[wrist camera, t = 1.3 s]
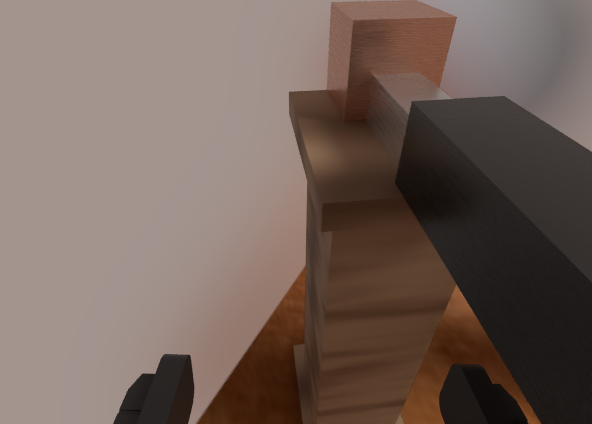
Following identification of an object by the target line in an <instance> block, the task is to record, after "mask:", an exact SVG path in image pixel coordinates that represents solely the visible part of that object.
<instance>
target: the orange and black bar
mask: <svg viewBox="0 0 592 424" xmlns="http://www.w3.org/2000/svg"><path fill="white" fill-rule="evenodd" d="M456 18H457V17H455V16H453V15H451V14H448V13H446V12H443V11H441V10H439V9H436V8H434V7H431V6H429V5H426V4H424V3H421V2H419V1H417V0H404V1H403V0H402V1H368V2H367V1H365V2H331V18H330V38H329V56H328V57H329V58H328V77H327V91H328V93H329V95H330V97H331V99H332V101H333V103H334V104H335V106H336V108H337V110H338V112H339V114H340V116H341V117H342V119H343V121H344V123H345V122H362V121H367V123H368V124H369V126H370V127H371V129H372V130H373V132H374V133H375V135H376V136H377V138H378V140H379V141H380V143H381V144H382V146H383V147H384V149H385V150H386V152H387V153H388V155H389V156H390V158H391V159H392V161H393V162H394V164H395V165H396V167H397V168H398V170H397V175H396V180H395V184H396V186H397V187H398V189H399V190H400V192H401V194H402V195H403V197H404V199H405V200H406V202H407V204H408V205H409V207H410V209H411V210H412V212H413V213H414V215H415V217H416V218H417V220H418V222H419V223H420V225H421V227H422V228H423V230H424V232H425V233H426V235H427V236H428V238H429V240H430V241H431V243H432V245H433V246H434V248H435V250H436V251H437V253H438V255H439V256H440V258H441V259H442V261H443V263H444V264H445V266H446V268H447V269H448V271H449V273H450V274H451V276H452V278H453V279H454V281H455V282H456V284H457V286H458V287H459V289H460V291H461V292H462V294H463V296H464V297H465V299H466V301H467V302H468V304H469V305H470V307H471V309H472V310H473V312H474V314H475V315H476V317H477V319H478V320H479V322H480V324H481V325H482V327H483V328H484V330H485V332H486V333H487V335H488V337H489V338H490V340H491V342H492V343H493V345H494V347H495V348H496V350H497V351H498V353H499V355H500V356H501V358H502V360H503V361H504V363H505V365H506V366H507V368H508V370H509V371H510V373H511V374H512V376H513V378H514V379H515V381H516V383H517V384H518V386H519V388H520V389H521V391H522V393H523V394H524V396H525V397H526V399H527V401H528V402H529V404H530V406H531V407H532V409H533V411H534V412H535V414H536V416H537V417H538V419H539V420H540V422H541V424H592V152H591V151H589V150H588V149H586V148H585V147H583V146H582V145H580V144H579V143H577V142H575V141H574V140H572V139H571V138H569V137H568V136H566V135H564V134H563V133H561V132H560V131H558V130H557V129H555V128H553V127H552V126H550V125H549V124H547V123H545V122H544V121H542V120H540V119H539V118H538V117H536V116H535V115H533V114H531V113H530V112H528V111H527V110H525V109H524V108H522V107H520V106H519V105H517V104H516V103H514V102H512V101H511V100H509V99H508V98H506V97H505V96H500V97H499V96H498V97H479V98H461V99H452V98H451V97H450V96H448V95H447V94H446V93H445V92H443V91H442V90H441V89H440V88H439V86H440V82H441V78H442V74H443V70H444V66H445V62H446V58H447V54H448V50H449V46H450V42H451V38H452V34H453V30H454V26H455V22H456Z"/></svg>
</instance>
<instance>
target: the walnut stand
mask: <svg viewBox="0 0 592 424" xmlns="http://www.w3.org/2000/svg"><path fill="white" fill-rule="evenodd" d="M440 89H441V88H440ZM441 90H442V89H441ZM442 91H443V90H442ZM443 92H444V91H443ZM445 93H446V92H445ZM446 94H447V93H446ZM447 95H448V94H447ZM448 96H449V95H448ZM450 97H451V96H450ZM451 98H452V97H451ZM452 99H453V98H452ZM289 114H290V118H291V122H292V126H293V129H294V133H295V137H296V140H297V144H298V148H299V151H300V155H301V159H302V163H303V167H304V170H305V174H306V178H307V228H306V230H307V231H306V280H305V332H304V344H299V345H293V352H294V360H295V368H296V376H297V384H298V392H299V400H300V407H301V415H302V423H303V424H404V423H403V420H402V417H401V414H400V413H401V410H402V408H403V406H404V403H405V401H406V399H407V396H408V394H409V392H410V389H411V387H412V385H413V383H414V380H415V378H416V376H417V373H418V371H419V369H420V366H421V364H422V362H423V360H424V357H425V355H426V353H427V350H428V348H429V346H430V343H431V341H432V339H433V337H434V334H435V332H436V330H437V327H438V325H439V323H440V320H441V318H442V316H443V313H444V311H445V309H446V307H447V304H448V302H449V300H450V297H451V295H452V293H453V290H454V288H455V286H456V282H455V281H454V279H453V278H452V276H451V274H450V273H449V271H448V269H447V268H446V266H445V264H444V263H443V261H442V259H441V258H440V256H439V255H438V253H437V251H436V250H435V248H434V246H433V245H432V243H431V241H430V240H429V238H428V236H427V235H426V233H425V232H424V230H423V228H422V227H421V225H420V223H419V222H418V220H417V218H416V217H415V215H414V213H413V212H412V210H411V209H410V207H409V205H408V204H407V202H406V200H405V199H404V197H403V195H402V194H401V192H400V190H399V189H398V187H397V186H396V184H395V180H396V175H397V170H398V168H397V167H396V165H395V164H394V162H393V161H392V159H391V158H390V156H389V155H388V153H387V152H386V150H385V149H384V147H383V146H382V144H381V143H380V141H379V140H378V138H377V136H376V135H375V133H374V132H373V130H372V129H371V127H370V126H369V124H368V123H367V121H362V122H345V123H344V121H343V119H342V117H341V116H340V114H339V112H338V110H337V108H336V106H335V104H334V103H333V101H332V99H331V97H330V95H329V93H328V91H327V90H318V91H298V92H289Z"/></svg>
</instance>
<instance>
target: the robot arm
mask: <svg viewBox="0 0 592 424" xmlns="http://www.w3.org/2000/svg"><path fill="white" fill-rule="evenodd" d="M193 398H194V381H193V372H192V364H191V357H190V355H177V354H176V355H175V354H174V355H173V354H165V355H163V357H162V358H161V360H160V363H159V366H158V368H157V371H156V374H142V375H141V376H140V377H139V378H138V379H137V380H136V382H135V383H134V384H133V385H132V386H131V387H130V388H129V389H128V391H127V393H126V396H125V398H124V400H123V403H122V405H121V407H120V411H119V413H118V414H117V416H116V419H115V421H114V423H113V424H188V421H189V417H190V413H191V409H192V404H193ZM439 405H440V411H441V414H442V417H443V420H444V422H445V424H528V422H527V418H526V417H525V415H524V413H523V412H522V410H521V408H520V406H519V405H518V403H517V401H516V400H515V399H514V398H513V397H512V396H511V395H510V394H509V393H508V392H507V391H506V390H505V389H504V388H503V387H502V386H501V385H500V384H492V382H491V380H490V378H489V377H488V375H487V373H486V371H485V370H484V368H483V367H482V366H481V365H478V364H453V365H452V366H451V368H450V370H449V373H448V375H447V378H446V380H445V382H444V385H443V387H442V390H441V392H440V396H439Z"/></svg>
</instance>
